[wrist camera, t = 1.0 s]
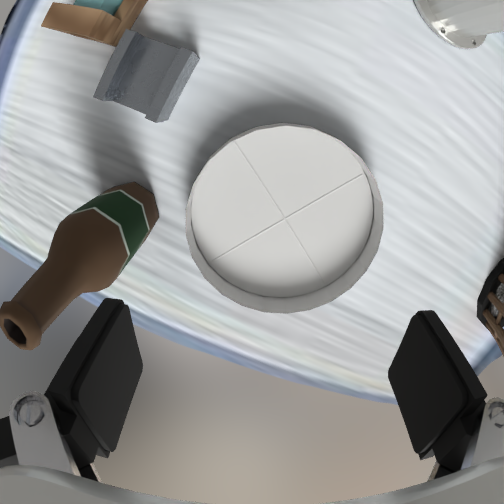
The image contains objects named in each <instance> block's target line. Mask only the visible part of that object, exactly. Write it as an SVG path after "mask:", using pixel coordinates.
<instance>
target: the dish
mask: <svg viewBox="0 0 504 504" xmlns="http://www.w3.org/2000/svg"><path fill="white" fill-rule="evenodd" d="M382 231H383V202H382V199H381V195H380V192H379V189H378V185H377V182H376V180H375V178H374V176H373V175H372V173H371V172H370V170H369V169H368V167H367V166H366V164H365V163H364V161H363V160H362V158H361V157H359V156H358V155H357V154H356V153H355V152H354V151H352V150H351V149H350V148H349V147H348V146H346V145H345V144H344V143H343V142H342V141H340V140H338V139H337V138H335V137H334V136H332V135H329V134H327V133H325V132H323V131H320V130H318V129H316V128H313V127H311V126H306V125H298V124H290V123H277V124H270V125H264V126H258V127H254V128H252V129H250V130H248V131H245V132H243V133H241V134H239V135H237V136H235V137H232V138H231V139H229V140H228V141H227V142H226V143H225V144H224V145H222V146H221V147H220V148H219V149H218V150H217V151H215V152H214V153H213V154H212V155H211V156H210V158H209V159H208V161H207V162H206V164H205V165H204V167H203V168H202V170H201V171H200V173H199V174H198V176H197V178H196V181H195V182H194V184H193V187H192V190H191V193H190V197H189V200H188V203H187V207H186V237H187V241H188V244H189V248H190V251H191V255H192V258H193V260H194V261H195V263H196V265H197V266H198V268H199V270H200V271H201V273H202V275H203V276H204V278H205V279H206V280H207V281H208V282H209V283H210V284H211V285H212V286H213V287H215V288H216V289H217V290H218V291H219V292H220V293H221V294H222V295H224V296H226V297H227V298H229V299H231V300H233V301H234V302H236V303H238V304H240V305H242V306H245V307H248V308H252V309H255V310H258V311H262V312H270V313H293V312H300V311H306V310H311V309H313V308H316V307H318V306H321V305H324V304H326V303H329V302H331V301H333V300H334V299H336V298H337V297H339V296H340V295H342V294H343V293H345V292H346V291H347V290H349V289H350V288H351V287H352V286H353V285H354V284H355V283H356V282H357V281H358V280H359V279H360V278H361V276H362V275H363V274H364V273H365V272H366V271H367V269H368V267H369V265H370V264H371V262H372V260H373V258H374V256H375V255H376V253H377V251H378V247H379V243H380V240H381V236H382Z"/></svg>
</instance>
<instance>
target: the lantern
mask: <svg viewBox="0 0 504 504" xmlns="http://www.w3.org/2000/svg"><path fill="white" fill-rule="evenodd" d="M477 318H478V319H479V320H480V321H481V322H482V324H483V325H484V326H485V327H486V328H487V329H488V330H489V331H490V332H491V334H492V336H493V337H494V339H495V340H496V342H497V344H498V346H499V348H500V350H501V352H502V354H503V356H504V329H503V328H502V327H503V326H504V258H503V259H502V260H501V261H500V262H499V263H498V265H497V266H496V267H495V269H494V270H493V271H492V272H491V274H490V275H489V276H488V278H487V279H486V281H485V284H484V286H483V288H482V291H481V293H480V295H479V298H478V300H477Z"/></svg>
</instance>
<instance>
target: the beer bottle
mask: <svg viewBox="0 0 504 504" xmlns="http://www.w3.org/2000/svg"><path fill="white" fill-rule="evenodd" d="M158 218H159V214H158V210H157V206H156V202H155V198H154V194H152V193H151V192H149V191H148V190H146V189H145V188H143V187H142V186H140V185H139V184H137V183H136V182H131V183H127V184H123V185H119V186H115V187H113V188H111V189H108V190H107V191H105V192H103V193H102V194H100V195H99V196H97V197H95V198H94V199H92V200H91V201H89V202H88V203H86V204H84V205H83V206H81V207H80V208H78V209H77V210H75V211H74V212H72V213H71V214H69V215H68V216H67V217H66V218H65V219H64V220H63V221H61V222H60V224H59V226H58V228H57V230H56V232H55V234H54V237H53V240H52V243H51V247H50V250H49V254H48V258H47V259H46V261H45V262H44V263H43V265H42V266H41V267H40V268H39V269H38V270H37V271H36V272H35V273H34V274H33V276H32V277H31V278H30V279H29V280H28V281H27V282H26V284H25V285H24V286H23V287H22V288H21V289H20V291H19V292H18V293H17V294H16V295H15V297H14V298H13V299H12V300H11V301H9V302H3V304H2V306H1V308H0V327H1V328H2V330H3V332H4V334H5V335H6V337H7V338H8V339H9V340H10V341H11V342H12V343H14V344H15V345H16V346H17V347H19V348H20V349H25V350H33V349H34V348H35V347H37V346H38V345H40V341H41V336H42V334H43V333H44V331H45V330H46V329H47V328H48V327H49V326H50V324H51V323H52V322H53V321H54V320H55V319H56V318H57V317H58V316H59V315H60V313H61V312H62V311H63V310H64V309H65V308H66V307H67V306H68V305H69V304H70V303H71V302H72V301H73V300H74V299H75V298H76V297H78V296H79V295H80V294H82V293H87V292H97V291H100V290H103V289H105V288H107V287H109V286H110V285H111V284H112V283H113V282H114V281H115V280H116V279H117V277H118V276H119V275H120V273H121V272H122V270H123V269H124V268H125V266H126V265H127V264H128V262H129V261H130V260H131V258H132V257H133V256H134V254H135V253H136V252H137V250H138V249H139V248H140V247H141V245H142V244H143V243H144V241H145V240H146V238H147V237H148V235H149V233H150V232H151V230H152V228H153V227H154V225H155V223H156V221H157V220H158Z"/></svg>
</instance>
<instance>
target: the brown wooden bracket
mask: <svg viewBox="0 0 504 504" xmlns="http://www.w3.org/2000/svg"><path fill="white" fill-rule="evenodd" d="M147 1H148V0H123V1H122V3H121V5H120V6H119V8H118V10H117V11H116V13H115V15H114V16H112V15H110V14H109V13H107V12H105V11H103V10H99V9H94V8H89V7H83V6H77V5H70V4H63V3H55V2H53V3H52V5H51V7H50V9H49V11H48V13H47V15H46V17H45V19H44V21H43V23H42V25H41V26H42V27H46V28H49V29H53V30H57V31H60V32H64V33H67V34H71V35H74V36H78V37H82V38H86V39H90V40H94V41H97V42H101V43H104V44H108V45H111V46H115V47H117V45H118V43H119V41H120V39H121V37H122V35H123V34H124V32H125V30H126V29H128V30H130V29H131V27H132V26H133V24H134V22H135V20H136V19H137V17H138V15H139V14H140V12H141V10H142V9H143V7H144V5H145V4H146V2H147Z"/></svg>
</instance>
